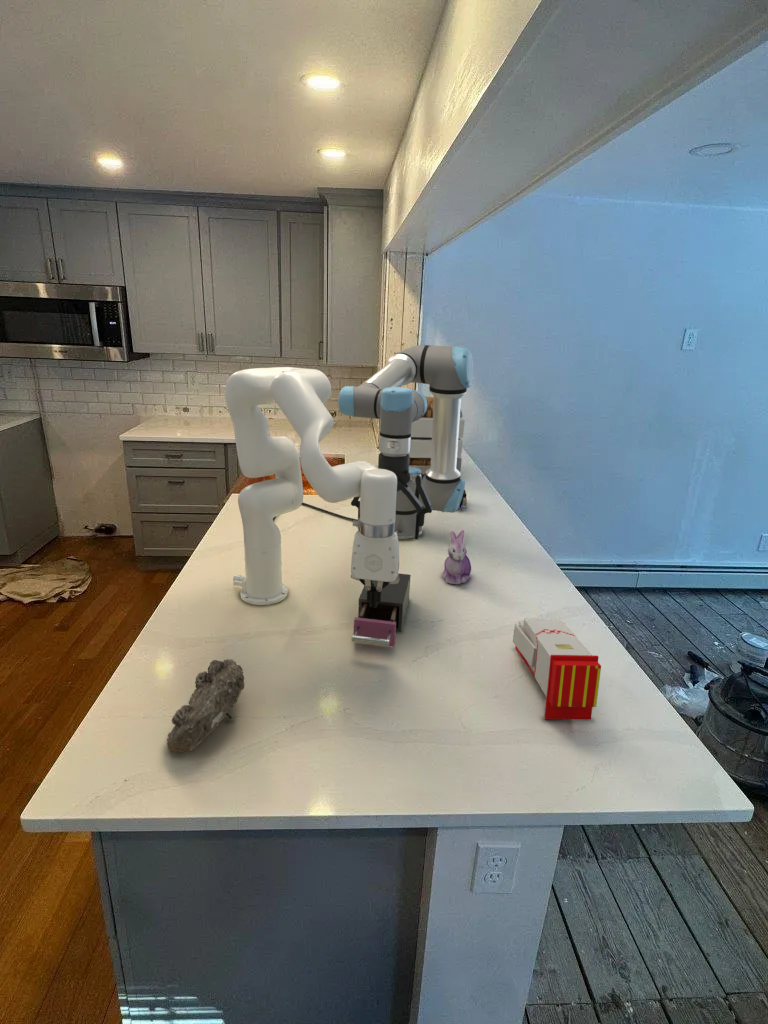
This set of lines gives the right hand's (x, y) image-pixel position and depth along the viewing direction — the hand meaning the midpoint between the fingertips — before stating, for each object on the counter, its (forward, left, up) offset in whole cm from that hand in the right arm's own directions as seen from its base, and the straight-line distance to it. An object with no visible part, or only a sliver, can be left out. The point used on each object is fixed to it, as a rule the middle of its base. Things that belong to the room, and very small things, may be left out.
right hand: (390, 534), depth 144 cm
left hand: (+14, -17, -8) cm, 23 cm away
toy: (+45, +8, -21) cm, 50 cm away
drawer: (+10, -11, -20) cm, 25 cm away
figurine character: (-45, +77, -21) cm, 92 cm away
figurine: (0, +28, -21) cm, 35 cm away
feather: (-76, +12, -21) cm, 80 cm away
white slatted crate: (-89, +98, -21) cm, 134 cm away
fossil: (+12, -55, -21) cm, 60 cm away
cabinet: (+2, -2, -21) cm, 21 cm away
